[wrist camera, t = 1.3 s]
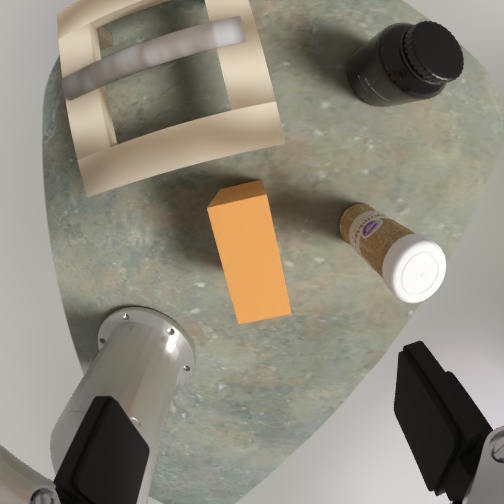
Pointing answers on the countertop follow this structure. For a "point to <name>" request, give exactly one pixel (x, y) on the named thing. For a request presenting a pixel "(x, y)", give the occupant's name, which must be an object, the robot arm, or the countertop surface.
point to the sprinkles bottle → (394, 252)
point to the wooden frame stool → (148, 55)
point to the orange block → (249, 252)
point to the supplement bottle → (405, 64)
